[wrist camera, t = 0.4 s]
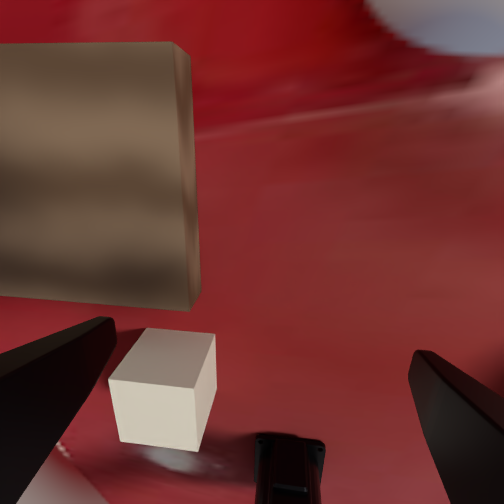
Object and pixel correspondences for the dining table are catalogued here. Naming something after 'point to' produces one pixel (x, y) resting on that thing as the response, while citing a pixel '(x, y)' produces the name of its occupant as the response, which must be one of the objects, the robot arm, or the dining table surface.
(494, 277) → the dining table surface
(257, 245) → the dining table surface
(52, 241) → the walnut base
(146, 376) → the cream cube
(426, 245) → the dining table surface
